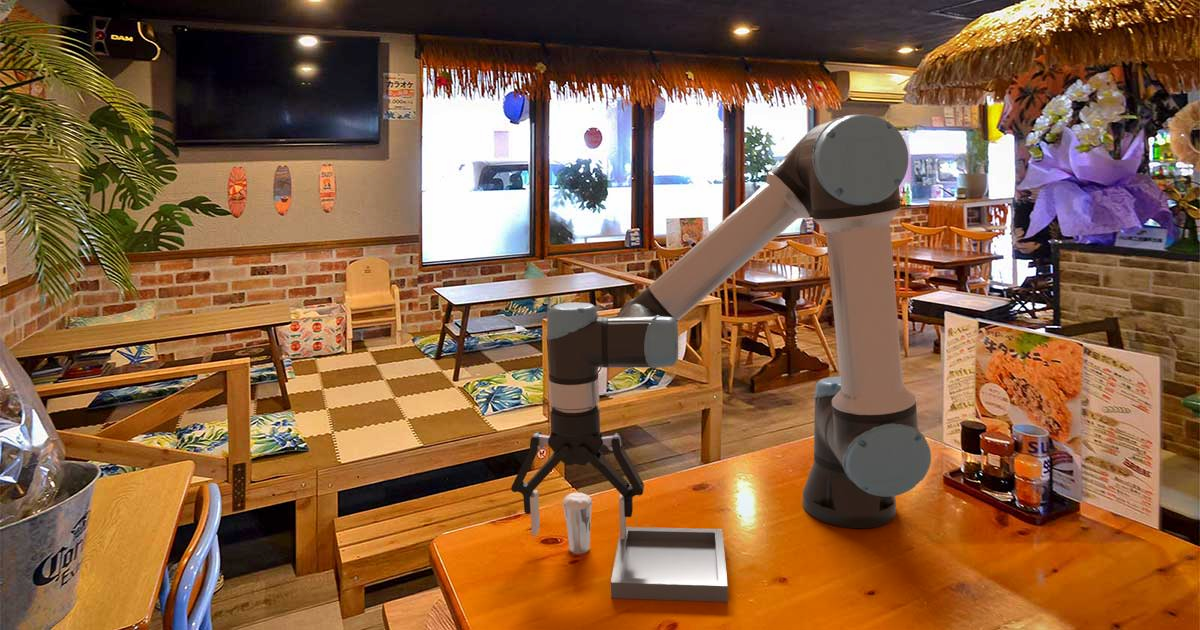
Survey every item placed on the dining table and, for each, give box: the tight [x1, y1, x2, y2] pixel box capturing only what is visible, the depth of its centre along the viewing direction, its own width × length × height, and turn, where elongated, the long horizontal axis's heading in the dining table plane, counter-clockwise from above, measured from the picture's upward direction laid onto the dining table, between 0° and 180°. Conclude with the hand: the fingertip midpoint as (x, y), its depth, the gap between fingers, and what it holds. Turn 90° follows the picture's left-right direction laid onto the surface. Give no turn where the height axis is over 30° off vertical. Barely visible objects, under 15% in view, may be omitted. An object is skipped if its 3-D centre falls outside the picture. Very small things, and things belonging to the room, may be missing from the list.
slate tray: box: [610, 526, 729, 603], centre depth 106 cm, size 16×16×2 cm
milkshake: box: [562, 491, 597, 555], centre depth 112 cm, size 4×5×10 cm
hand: (579, 534), depth 112 cm, fingers open, 13 cm apart
